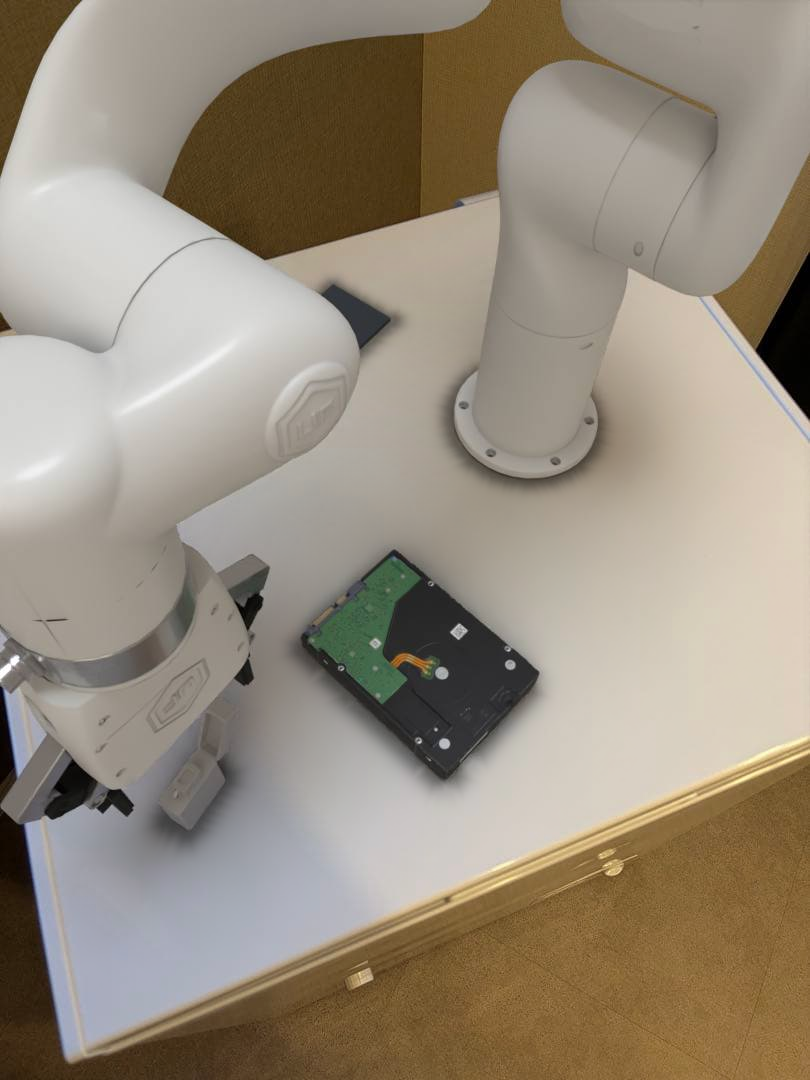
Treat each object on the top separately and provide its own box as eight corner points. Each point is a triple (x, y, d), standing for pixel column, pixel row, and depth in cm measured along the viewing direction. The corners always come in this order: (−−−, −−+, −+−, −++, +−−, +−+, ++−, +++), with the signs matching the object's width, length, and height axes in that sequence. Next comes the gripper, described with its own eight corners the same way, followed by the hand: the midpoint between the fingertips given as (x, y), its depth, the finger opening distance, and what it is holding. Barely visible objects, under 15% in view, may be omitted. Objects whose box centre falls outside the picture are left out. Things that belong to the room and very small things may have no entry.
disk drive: (536, 683, 66) (392, 562, 71) (543, 670, 64) (393, 544, 69) (445, 785, 62) (298, 649, 67) (448, 774, 60) (295, 634, 65)
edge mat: (333, 286, 86) (333, 283, 86) (390, 320, 84) (390, 317, 84) (278, 334, 83) (278, 331, 82) (336, 371, 81) (336, 368, 80)
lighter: (190, 831, 60) (167, 802, 53) (169, 818, 60) (144, 787, 54) (252, 744, 63) (238, 705, 56) (232, 731, 64) (216, 692, 57)
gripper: (-5, 819, 32) (108, 897, 47) (306, 506, 40) (319, 659, 54) (-136, 697, 34) (12, 809, 49) (184, 422, 42) (228, 590, 56)
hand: (174, 730), depth 52 cm, fingers open, 9 cm apart
